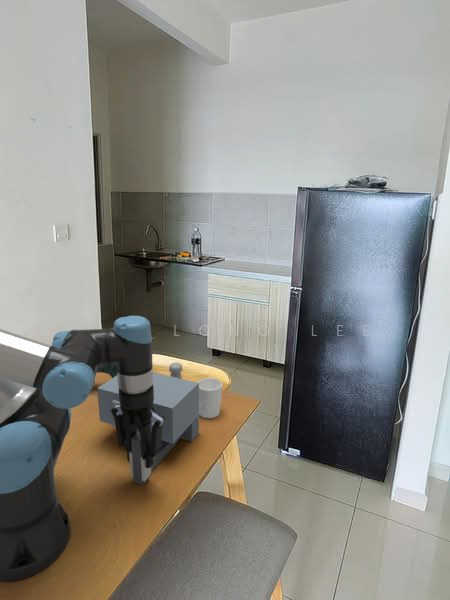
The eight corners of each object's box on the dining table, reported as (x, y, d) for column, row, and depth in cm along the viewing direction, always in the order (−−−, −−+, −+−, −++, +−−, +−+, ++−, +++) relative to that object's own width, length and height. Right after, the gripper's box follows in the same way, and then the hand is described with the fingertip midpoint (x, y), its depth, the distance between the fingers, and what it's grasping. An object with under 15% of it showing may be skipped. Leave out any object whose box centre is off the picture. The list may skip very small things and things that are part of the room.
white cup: (226, 412, 118) (227, 383, 116) (208, 422, 113) (209, 393, 110) (209, 403, 123) (209, 375, 121) (191, 412, 118) (191, 383, 115)
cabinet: (171, 466, 94) (170, 410, 90) (99, 442, 103) (94, 389, 99) (198, 433, 108) (198, 383, 103) (132, 414, 116) (129, 366, 112)
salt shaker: (188, 398, 126) (188, 363, 122) (177, 406, 121) (177, 369, 117) (175, 393, 129) (174, 358, 125) (163, 401, 124) (162, 365, 120)
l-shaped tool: (142, 485, 88) (140, 441, 85) (133, 482, 89) (131, 438, 86) (181, 440, 104) (181, 402, 101) (173, 438, 105) (172, 400, 102)
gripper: (175, 385, 83) (177, 474, 89) (118, 371, 89) (124, 456, 95) (156, 402, 76) (160, 496, 83) (96, 386, 82) (104, 475, 89)
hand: (141, 475), depth 89 cm, fingers closed on l-shaped tool, 2 cm apart
